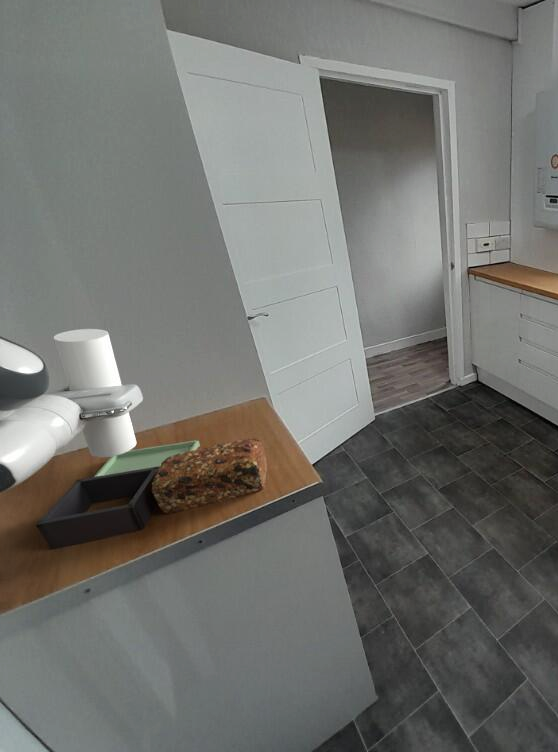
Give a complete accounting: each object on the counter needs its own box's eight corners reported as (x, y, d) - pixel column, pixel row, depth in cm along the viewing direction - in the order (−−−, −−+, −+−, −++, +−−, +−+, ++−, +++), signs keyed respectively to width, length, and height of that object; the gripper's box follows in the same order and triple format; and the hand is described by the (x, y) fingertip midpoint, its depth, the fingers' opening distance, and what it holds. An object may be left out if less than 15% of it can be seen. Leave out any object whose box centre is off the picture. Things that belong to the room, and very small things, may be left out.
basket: (50, 549, 75) (35, 524, 73) (88, 502, 86) (77, 479, 84) (143, 530, 80) (132, 506, 77) (168, 488, 91) (159, 466, 88)
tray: (82, 499, 87) (79, 493, 86) (117, 458, 100) (114, 452, 99) (179, 482, 92) (176, 476, 92) (200, 445, 105) (198, 439, 105)
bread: (270, 465, 98) (260, 430, 94) (265, 494, 89) (253, 457, 85) (176, 485, 91) (160, 449, 87) (160, 518, 82) (142, 480, 78)
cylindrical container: (99, 440, 87) (65, 328, 78) (141, 436, 90) (114, 328, 80) (82, 459, 81) (44, 341, 72) (129, 455, 84) (98, 341, 75)
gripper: (116, 397, 71) (150, 366, 83) (-45, 414, 65) (16, 379, 76) (129, 427, 74) (160, 394, 86) (-25, 448, 67) (31, 408, 79)
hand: (91, 387), depth 81 cm, fingers closed on cylindrical container, 4 cm apart
